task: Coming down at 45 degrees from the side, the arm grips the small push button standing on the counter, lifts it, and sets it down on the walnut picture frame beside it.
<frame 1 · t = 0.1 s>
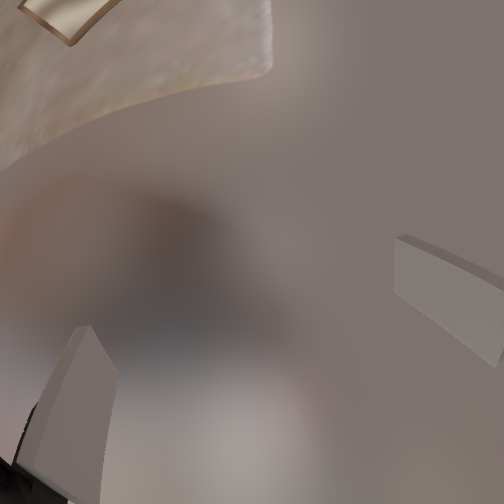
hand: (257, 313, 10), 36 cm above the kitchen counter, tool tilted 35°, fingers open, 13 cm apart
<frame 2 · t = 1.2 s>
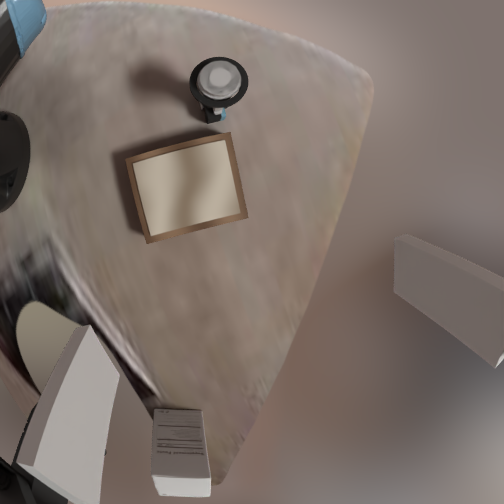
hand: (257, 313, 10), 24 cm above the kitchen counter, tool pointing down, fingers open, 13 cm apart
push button: (211, 100, 29), on the kitchen counter
supplement box: (179, 422, 42), on the kitchen counter
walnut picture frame: (187, 186, 31), on the kitchen counter
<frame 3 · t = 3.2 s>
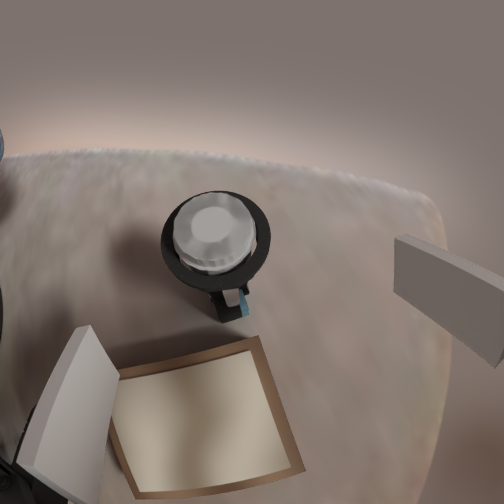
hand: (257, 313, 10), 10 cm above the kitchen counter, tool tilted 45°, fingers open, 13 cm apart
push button: (225, 284, 21), on the kitchen counter
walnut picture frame: (199, 423, 16), on the kitchen counter
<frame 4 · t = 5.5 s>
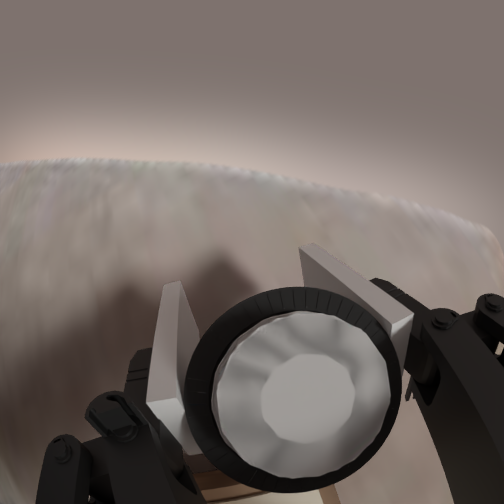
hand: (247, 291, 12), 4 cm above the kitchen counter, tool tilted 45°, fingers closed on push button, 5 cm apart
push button: (267, 372, 14), on the kitchen counter, touching gripper
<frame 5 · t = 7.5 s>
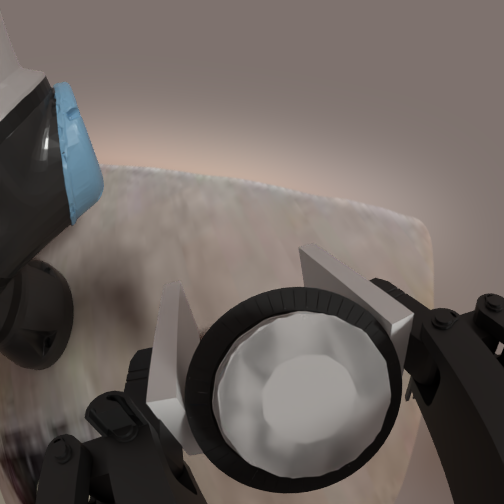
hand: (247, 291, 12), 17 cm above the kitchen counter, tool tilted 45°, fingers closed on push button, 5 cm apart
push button: (268, 372, 14), point 13 cm above the kitchen counter, touching gripper
when the fingers open (8 cm above the kitchen counter, at t = 9.6 s): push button drops 1 cm, resting on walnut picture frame.
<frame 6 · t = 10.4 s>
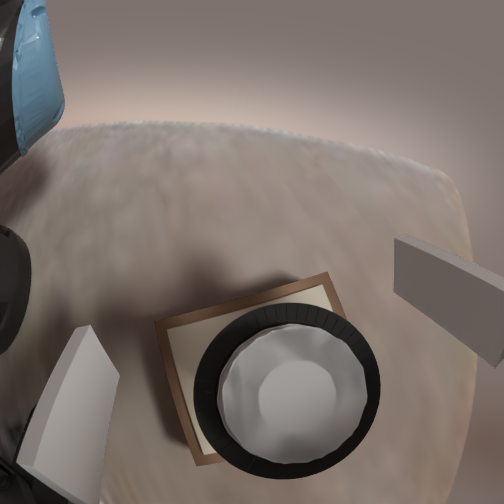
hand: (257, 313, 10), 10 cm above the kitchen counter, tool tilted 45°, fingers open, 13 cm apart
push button: (265, 374, 15), point 3 cm above the kitchen counter, touching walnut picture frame
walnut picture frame: (264, 372, 18), on the kitchen counter
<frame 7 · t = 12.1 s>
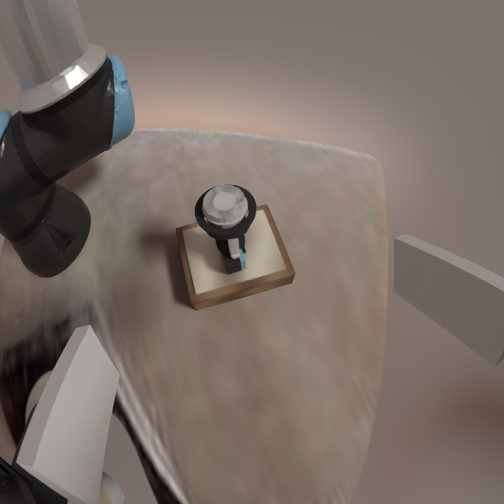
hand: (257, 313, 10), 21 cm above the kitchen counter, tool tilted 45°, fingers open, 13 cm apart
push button: (231, 250, 32), point 3 cm above the kitchen counter, touching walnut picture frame
coffee cup: (103, 490, 20), on the kitchen counter
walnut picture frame: (233, 260, 34), on the kitchen counter
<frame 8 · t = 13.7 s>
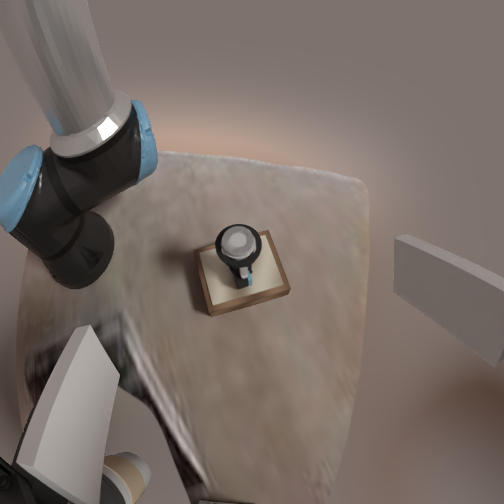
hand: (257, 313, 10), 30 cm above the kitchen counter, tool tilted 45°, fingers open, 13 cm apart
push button: (239, 269, 40), point 3 cm above the kitchen counter, touching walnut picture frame
coffee cup: (132, 470, 28), on the kitchen counter
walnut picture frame: (241, 276, 42), on the kitchen counter
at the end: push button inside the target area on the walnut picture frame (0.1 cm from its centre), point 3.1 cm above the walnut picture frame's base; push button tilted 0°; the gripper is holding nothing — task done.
